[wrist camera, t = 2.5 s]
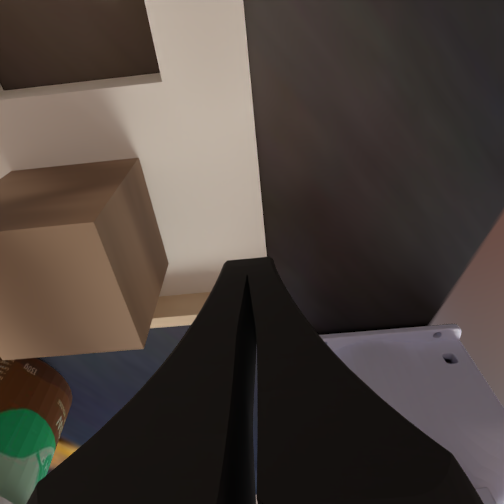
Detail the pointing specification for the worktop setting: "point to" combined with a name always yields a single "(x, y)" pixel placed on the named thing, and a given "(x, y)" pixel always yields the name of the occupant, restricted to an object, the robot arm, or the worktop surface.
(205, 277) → the trap deck
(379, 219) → the worktop surface
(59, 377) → the food container
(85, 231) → the walnut block
